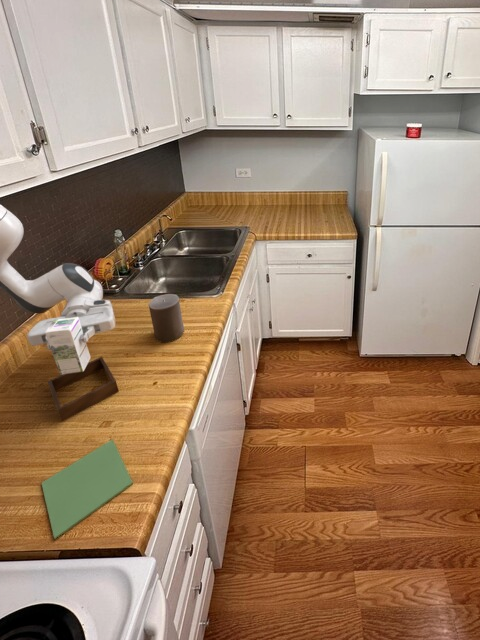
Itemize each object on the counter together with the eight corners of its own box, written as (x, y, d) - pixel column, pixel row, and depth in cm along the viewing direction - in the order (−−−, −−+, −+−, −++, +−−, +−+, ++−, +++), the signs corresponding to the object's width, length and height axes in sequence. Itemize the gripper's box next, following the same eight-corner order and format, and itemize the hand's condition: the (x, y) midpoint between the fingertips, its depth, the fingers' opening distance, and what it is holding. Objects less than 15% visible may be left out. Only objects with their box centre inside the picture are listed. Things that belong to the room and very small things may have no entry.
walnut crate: (61, 421, 86) (57, 410, 85) (51, 391, 95) (47, 380, 94) (118, 391, 95) (115, 380, 94) (104, 366, 104) (101, 356, 103)
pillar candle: (169, 345, 113) (162, 308, 108) (149, 338, 117) (141, 301, 111) (190, 329, 121) (184, 293, 116) (170, 322, 125) (163, 287, 119)
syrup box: (91, 357, 95) (79, 315, 90) (83, 372, 90) (69, 329, 84) (68, 360, 94) (54, 318, 88) (59, 376, 88) (43, 332, 83)
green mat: (54, 540, 63) (53, 538, 63) (42, 484, 72) (41, 482, 72) (133, 483, 72) (132, 482, 72) (113, 440, 81) (112, 439, 81)
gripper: (34, 313, 95) (14, 344, 83) (115, 299, 102) (108, 325, 90) (40, 331, 97) (22, 363, 85) (119, 316, 104) (113, 344, 93)
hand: (67, 344), depth 88 cm, fingers closed on syrup box, 6 cm apart
